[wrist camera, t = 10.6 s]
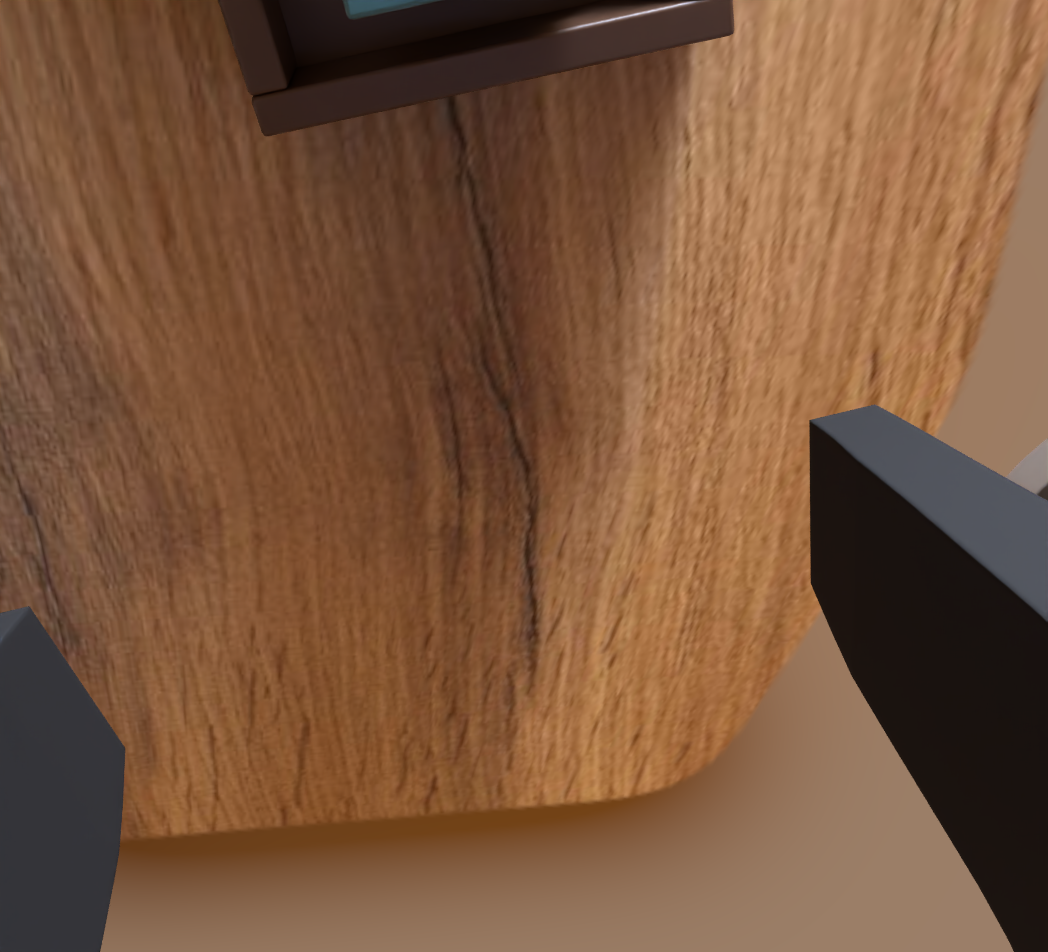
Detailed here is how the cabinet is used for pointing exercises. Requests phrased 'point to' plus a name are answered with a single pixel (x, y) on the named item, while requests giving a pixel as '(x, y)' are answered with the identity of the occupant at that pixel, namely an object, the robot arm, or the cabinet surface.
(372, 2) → the toy truck block
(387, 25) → the long brown tray
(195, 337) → the cabinet surface
